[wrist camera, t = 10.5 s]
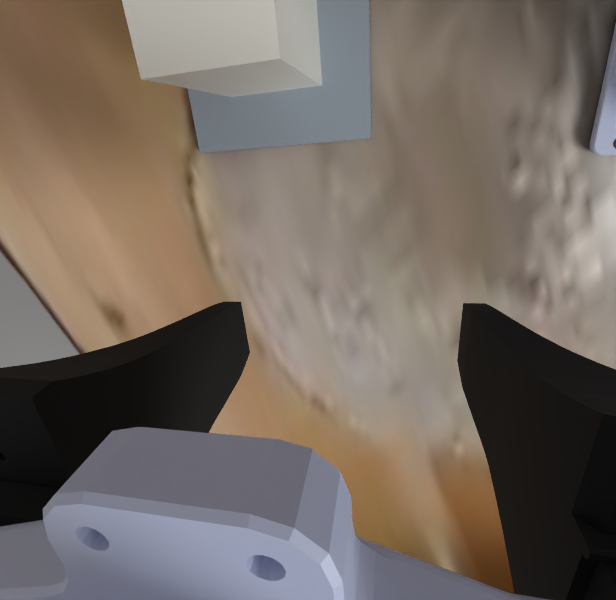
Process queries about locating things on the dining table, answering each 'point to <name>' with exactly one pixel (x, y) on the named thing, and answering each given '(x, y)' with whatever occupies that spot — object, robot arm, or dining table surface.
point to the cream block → (226, 44)
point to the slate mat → (300, 94)
